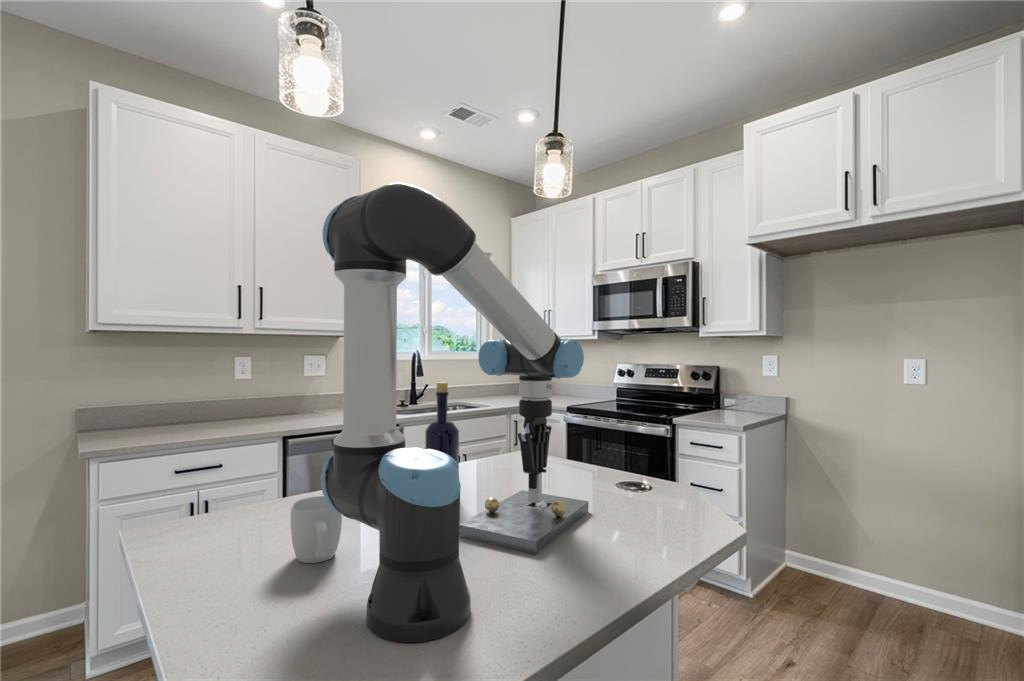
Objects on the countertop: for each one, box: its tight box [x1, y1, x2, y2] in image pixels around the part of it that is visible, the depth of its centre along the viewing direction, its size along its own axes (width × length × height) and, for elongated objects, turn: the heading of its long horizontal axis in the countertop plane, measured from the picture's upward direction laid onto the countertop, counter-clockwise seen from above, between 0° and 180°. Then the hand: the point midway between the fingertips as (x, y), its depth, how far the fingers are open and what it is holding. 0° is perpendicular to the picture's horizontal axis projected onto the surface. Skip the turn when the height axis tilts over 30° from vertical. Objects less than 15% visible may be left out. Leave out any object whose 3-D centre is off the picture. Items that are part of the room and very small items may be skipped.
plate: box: [459, 490, 589, 556], centre depth 111 cm, size 28×18×2 cm, turn 151°
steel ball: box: [535, 501, 548, 509], centre depth 117 cm, size 3×3×3 cm
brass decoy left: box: [484, 497, 500, 512], centre depth 111 cm, size 3×3×3 cm
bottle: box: [424, 381, 460, 470], centre depth 128 cm, size 9×9×30 cm
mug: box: [290, 495, 343, 564], centre depth 92 cm, size 13×9×10 cm
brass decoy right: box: [551, 501, 566, 517], centre depth 109 cm, size 3×3×3 cm
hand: (535, 501), depth 114 cm, fingers closed
